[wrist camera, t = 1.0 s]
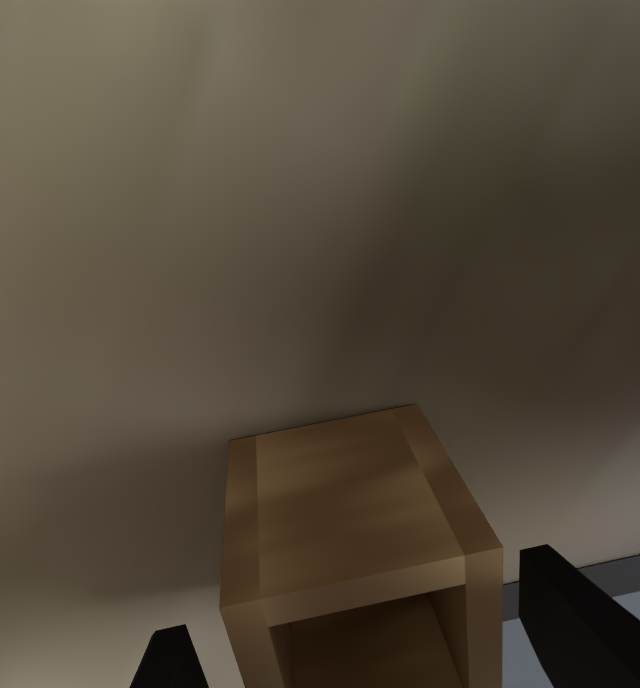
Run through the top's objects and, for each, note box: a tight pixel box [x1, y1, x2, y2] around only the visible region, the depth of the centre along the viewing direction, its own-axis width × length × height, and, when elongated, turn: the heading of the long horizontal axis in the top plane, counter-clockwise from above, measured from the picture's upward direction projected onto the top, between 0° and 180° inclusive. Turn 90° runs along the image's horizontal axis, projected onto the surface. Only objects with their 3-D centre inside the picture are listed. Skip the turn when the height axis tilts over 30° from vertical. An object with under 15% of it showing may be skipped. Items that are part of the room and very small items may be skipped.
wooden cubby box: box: [219, 404, 503, 688], centre depth 12 cm, size 5×5×5 cm
